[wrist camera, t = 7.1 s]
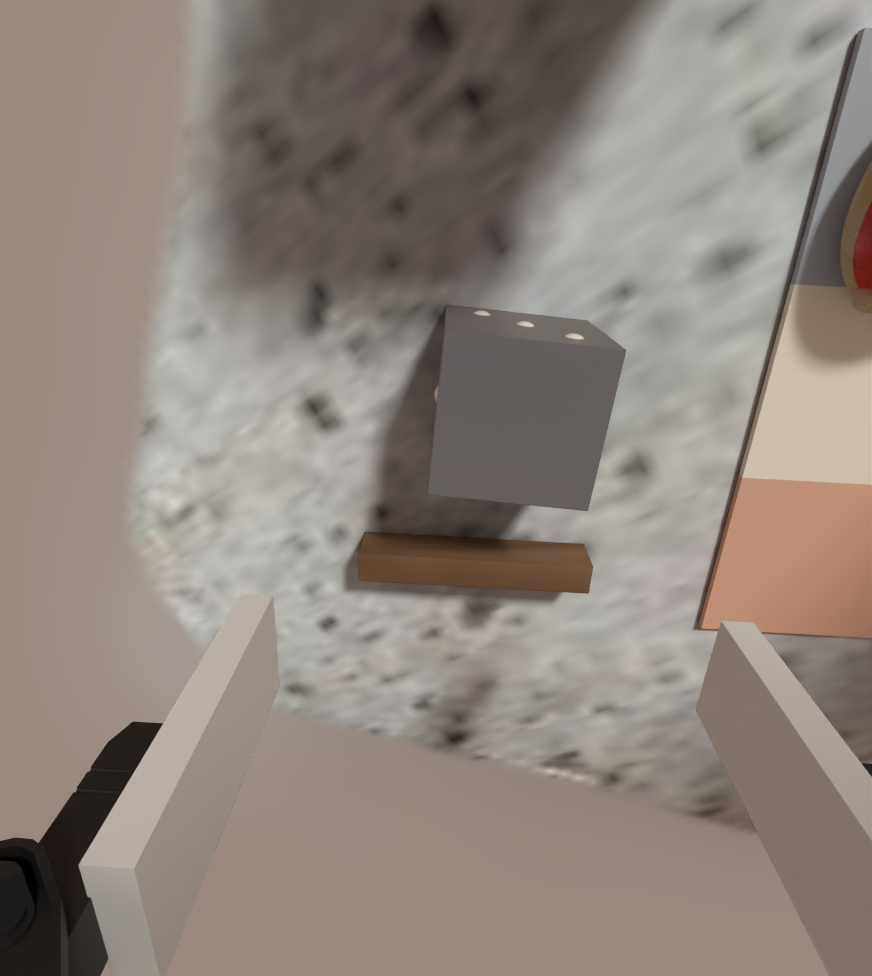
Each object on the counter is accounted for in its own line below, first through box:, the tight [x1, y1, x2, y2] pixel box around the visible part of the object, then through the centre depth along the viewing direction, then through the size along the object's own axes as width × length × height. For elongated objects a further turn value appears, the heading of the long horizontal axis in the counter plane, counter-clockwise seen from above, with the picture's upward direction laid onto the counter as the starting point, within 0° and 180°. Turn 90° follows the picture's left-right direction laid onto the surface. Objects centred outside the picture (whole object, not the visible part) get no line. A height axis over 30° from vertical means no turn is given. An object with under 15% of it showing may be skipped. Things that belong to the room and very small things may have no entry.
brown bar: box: [358, 532, 593, 593], centre depth 24 cm, size 1×9×2 cm, turn 87°
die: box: [428, 305, 626, 511], centre depth 19 cm, size 5×5×5 cm
